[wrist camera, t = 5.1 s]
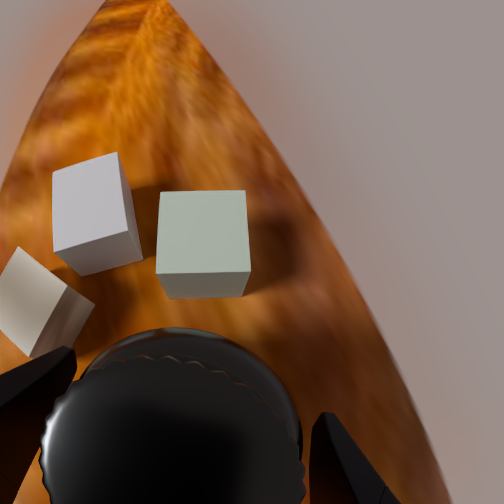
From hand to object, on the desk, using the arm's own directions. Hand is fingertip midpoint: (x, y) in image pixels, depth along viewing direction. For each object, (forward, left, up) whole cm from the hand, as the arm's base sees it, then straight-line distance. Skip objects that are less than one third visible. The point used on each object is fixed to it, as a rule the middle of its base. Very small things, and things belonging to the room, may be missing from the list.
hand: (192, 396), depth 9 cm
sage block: (+7, +2, -7) cm, 10 cm away
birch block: (+1, +9, -7) cm, 12 cm away
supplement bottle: (-1, 0, -7) cm, 7 cm away
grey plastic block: (+7, +8, -7) cm, 13 cm away
